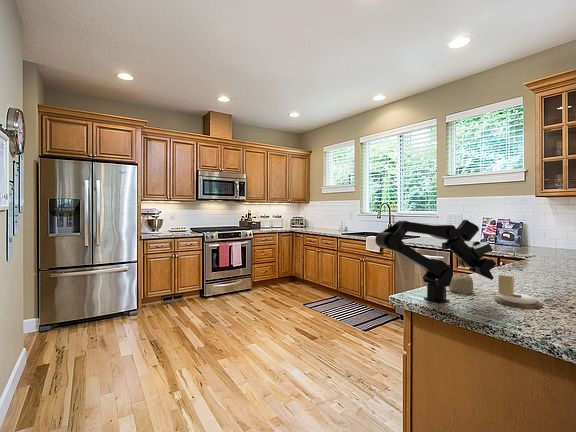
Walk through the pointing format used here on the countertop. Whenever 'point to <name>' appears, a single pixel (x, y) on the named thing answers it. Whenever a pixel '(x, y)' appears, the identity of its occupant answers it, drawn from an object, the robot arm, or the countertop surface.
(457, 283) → the sponge
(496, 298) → the base
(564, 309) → the countertop surface
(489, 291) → the countertop surface
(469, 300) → the countertop surface
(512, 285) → the dial
